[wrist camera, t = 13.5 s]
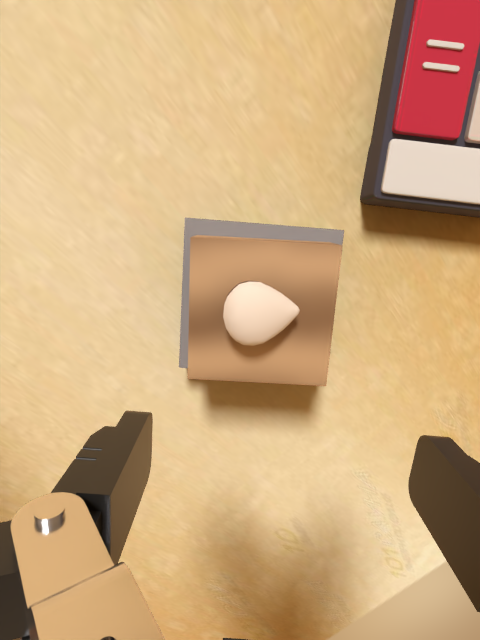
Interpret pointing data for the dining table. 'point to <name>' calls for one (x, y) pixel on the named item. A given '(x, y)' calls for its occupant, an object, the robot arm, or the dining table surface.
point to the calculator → (428, 111)
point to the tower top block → (284, 276)
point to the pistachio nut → (257, 312)
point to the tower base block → (245, 231)
